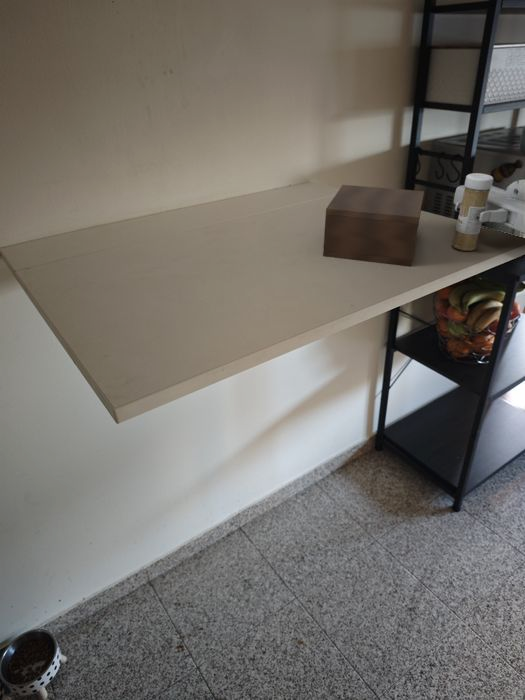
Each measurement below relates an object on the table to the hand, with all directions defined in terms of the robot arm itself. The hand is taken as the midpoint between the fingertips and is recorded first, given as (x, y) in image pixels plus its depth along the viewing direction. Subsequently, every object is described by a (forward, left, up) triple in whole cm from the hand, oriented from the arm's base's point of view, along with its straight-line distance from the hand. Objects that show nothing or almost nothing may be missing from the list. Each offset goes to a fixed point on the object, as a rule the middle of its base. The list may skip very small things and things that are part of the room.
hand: (468, 212), depth 92 cm
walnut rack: (+16, +3, -7) cm, 18 cm away
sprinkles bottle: (-1, -1, -7) cm, 7 cm away
